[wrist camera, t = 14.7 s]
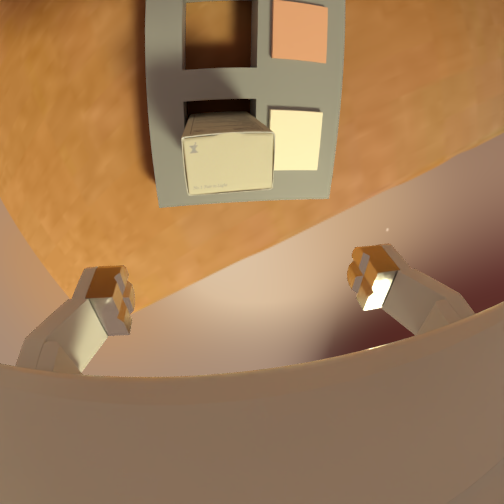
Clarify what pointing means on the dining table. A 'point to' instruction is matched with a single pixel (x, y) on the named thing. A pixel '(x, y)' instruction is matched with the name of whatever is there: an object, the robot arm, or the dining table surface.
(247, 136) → the skincare box
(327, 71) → the socket plate
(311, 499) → the robot arm
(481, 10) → the dining table surface
